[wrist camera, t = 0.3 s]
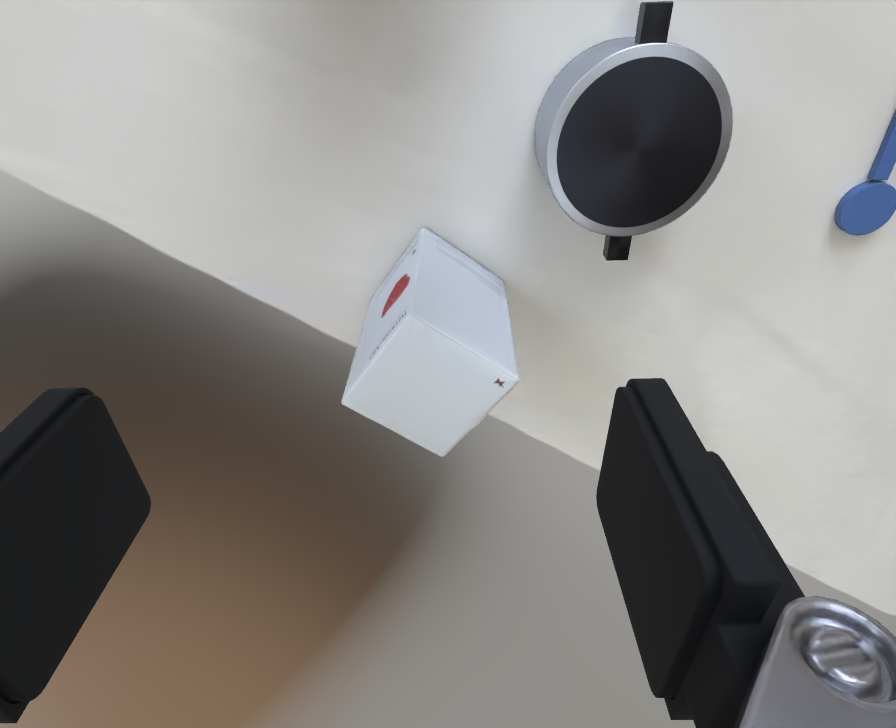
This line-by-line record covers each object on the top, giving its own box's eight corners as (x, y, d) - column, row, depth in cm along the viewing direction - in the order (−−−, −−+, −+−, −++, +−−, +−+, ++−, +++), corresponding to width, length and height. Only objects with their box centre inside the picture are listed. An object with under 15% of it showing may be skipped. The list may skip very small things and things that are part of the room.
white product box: (422, 222, 44) (411, 309, 31) (506, 280, 47) (525, 381, 34) (365, 300, 48) (336, 405, 36) (445, 349, 51) (444, 462, 38)
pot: (542, 4, 35) (557, 5, 30) (723, -2, 35) (769, -2, 30) (528, 235, 44) (537, 264, 39) (671, 231, 44) (700, 261, 39)
